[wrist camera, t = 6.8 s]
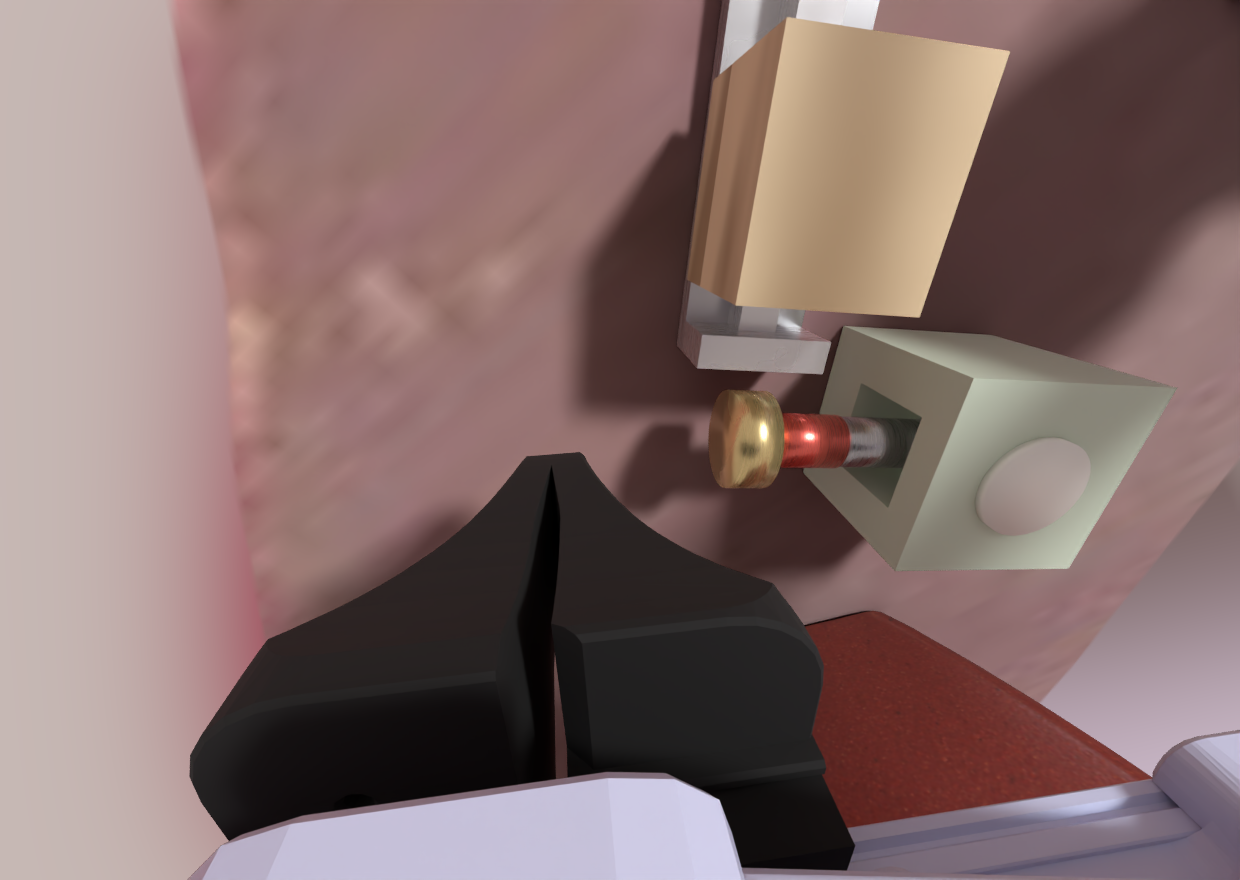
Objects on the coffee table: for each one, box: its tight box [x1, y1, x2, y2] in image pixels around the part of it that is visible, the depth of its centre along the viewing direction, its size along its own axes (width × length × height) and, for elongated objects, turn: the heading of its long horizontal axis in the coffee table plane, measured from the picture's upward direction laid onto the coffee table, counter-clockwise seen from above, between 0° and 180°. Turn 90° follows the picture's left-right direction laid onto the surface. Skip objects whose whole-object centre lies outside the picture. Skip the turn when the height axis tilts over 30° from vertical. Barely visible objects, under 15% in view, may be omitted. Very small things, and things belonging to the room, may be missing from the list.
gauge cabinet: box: [803, 326, 1177, 571], centre depth 16 cm, size 6×6×6 cm
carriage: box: [687, 17, 1010, 318], centre depth 12 cm, size 4×5×4 cm
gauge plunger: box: [708, 390, 921, 488], centre depth 15 cm, size 7×3×3 cm, turn 85°
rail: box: [677, 0, 880, 374], centre depth 12 cm, size 4×16×3 cm, turn 175°
